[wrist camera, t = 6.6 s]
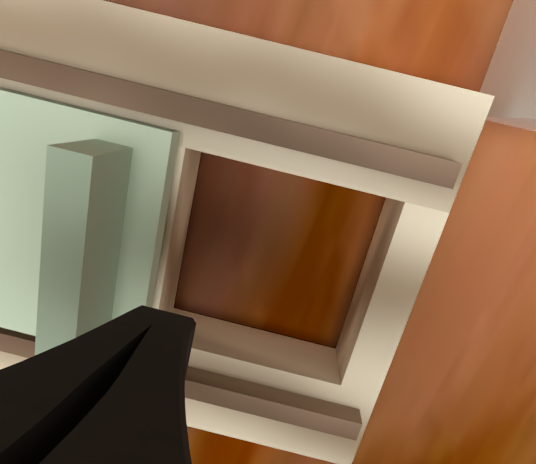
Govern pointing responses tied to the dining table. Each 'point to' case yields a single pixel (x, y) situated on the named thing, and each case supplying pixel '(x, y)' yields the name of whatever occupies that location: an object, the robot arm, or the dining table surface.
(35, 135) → the cover
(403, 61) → the dining table surface
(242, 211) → the dining table surface
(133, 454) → the robot arm
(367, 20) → the dining table surface
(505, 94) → the grey block
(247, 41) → the sliding lid box
